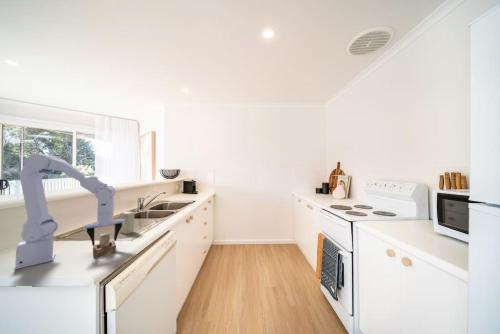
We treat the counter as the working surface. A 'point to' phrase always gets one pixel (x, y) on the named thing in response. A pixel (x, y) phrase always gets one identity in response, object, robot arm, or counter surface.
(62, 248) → the counter surface
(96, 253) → the walnut holder
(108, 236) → the beech peg
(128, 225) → the skincare box
